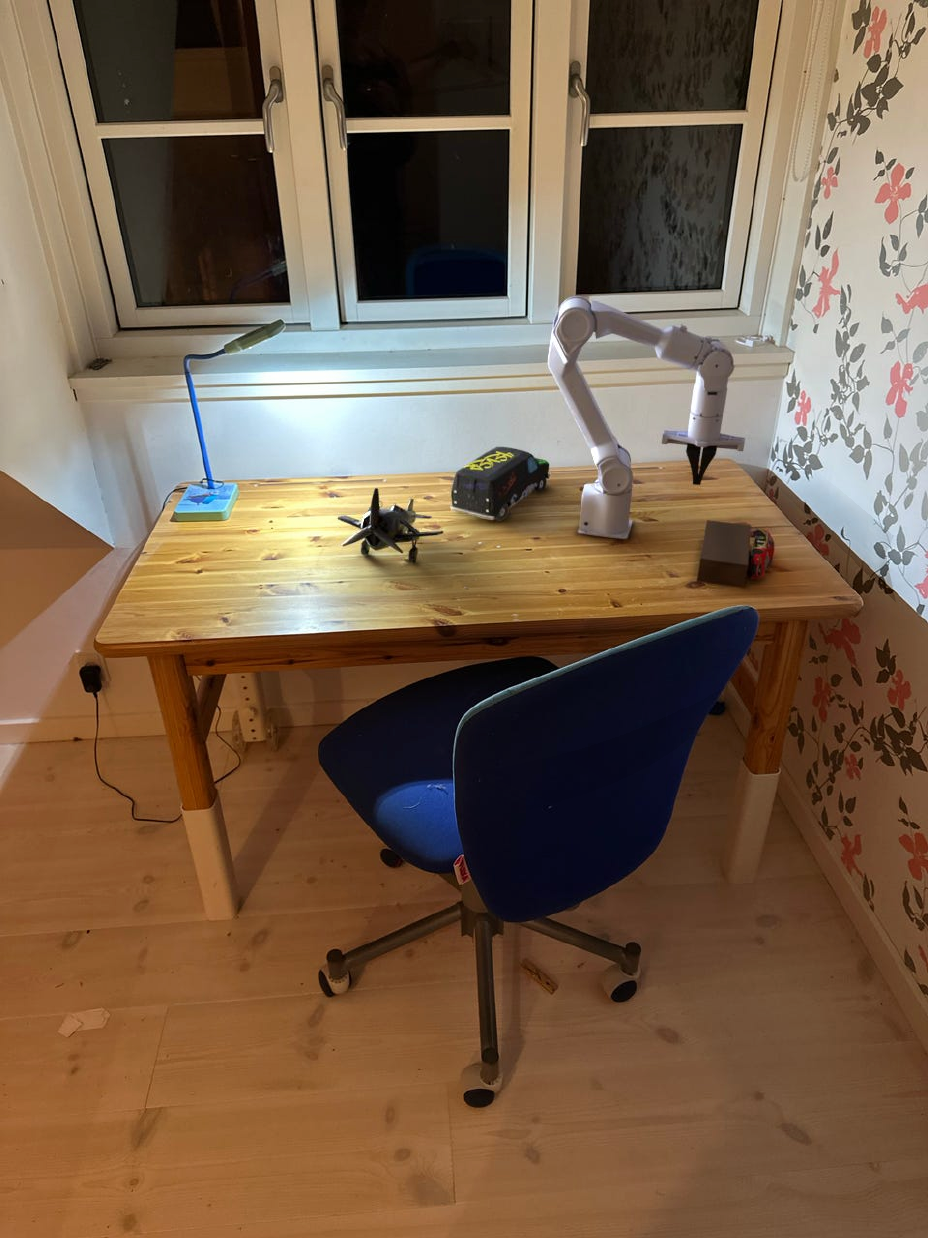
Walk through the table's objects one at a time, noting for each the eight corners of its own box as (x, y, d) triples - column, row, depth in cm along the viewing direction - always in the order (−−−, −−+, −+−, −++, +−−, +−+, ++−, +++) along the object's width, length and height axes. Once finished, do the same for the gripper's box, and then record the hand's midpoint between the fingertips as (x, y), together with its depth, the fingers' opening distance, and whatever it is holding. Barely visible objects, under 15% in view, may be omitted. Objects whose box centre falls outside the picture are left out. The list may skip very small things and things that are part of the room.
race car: (746, 583, 146) (770, 585, 144) (750, 554, 143) (775, 557, 142) (749, 552, 157) (772, 554, 155) (753, 525, 154) (776, 527, 153)
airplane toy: (323, 566, 153) (314, 489, 144) (368, 522, 168) (363, 450, 160) (424, 584, 147) (421, 504, 139) (462, 537, 162) (461, 463, 154)
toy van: (551, 485, 183) (553, 441, 177) (493, 528, 165) (493, 481, 160) (509, 475, 187) (509, 432, 182) (448, 516, 170) (447, 470, 165)
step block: (696, 581, 147) (700, 558, 144) (703, 541, 159) (706, 519, 157) (743, 587, 145) (748, 564, 142) (747, 546, 157) (751, 525, 155)
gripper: (663, 415, 149) (655, 486, 156) (748, 422, 145) (735, 495, 152) (667, 403, 154) (659, 472, 161) (749, 410, 150) (737, 480, 158)
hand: (696, 482), depth 157 cm, fingers closed
